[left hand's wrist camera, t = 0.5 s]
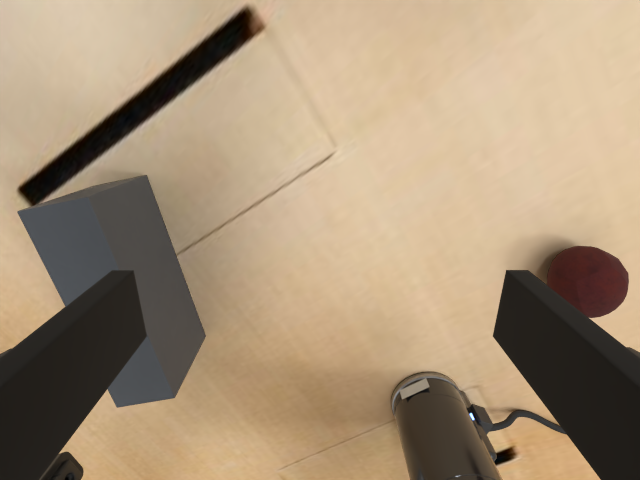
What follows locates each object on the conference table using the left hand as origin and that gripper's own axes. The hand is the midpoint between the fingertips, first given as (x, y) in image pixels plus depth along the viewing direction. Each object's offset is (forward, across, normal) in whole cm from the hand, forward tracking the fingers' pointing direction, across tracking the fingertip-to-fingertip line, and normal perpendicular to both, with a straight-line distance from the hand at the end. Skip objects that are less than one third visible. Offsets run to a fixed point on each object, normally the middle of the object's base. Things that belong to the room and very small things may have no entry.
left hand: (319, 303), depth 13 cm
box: (+27, -20, -11) cm, 35 cm away
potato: (+27, +29, -11) cm, 41 cm away
